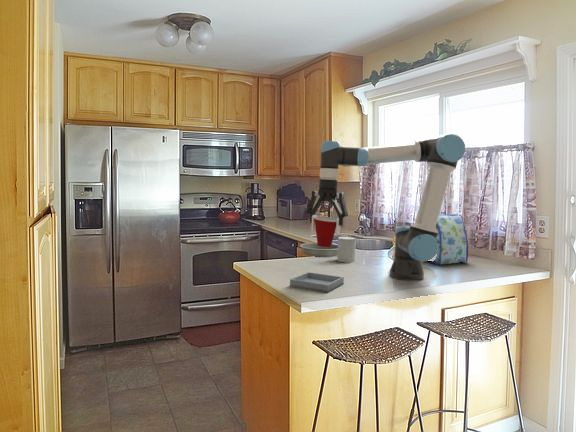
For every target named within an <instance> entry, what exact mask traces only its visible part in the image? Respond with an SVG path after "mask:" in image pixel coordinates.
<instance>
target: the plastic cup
mask: <svg viewBox="0 0 576 432" xmlns="http://www.w3.org/2000/svg"><path fill="white" fill-rule="evenodd" d="M314 220H315V226H316V230H315V234H316V235H315V237H316V243H317V244H318V246H322V247H331V245H332V244H333V241H334V236H335V234H336V224H337V217H336V218H334V217H330V216H323V215H322V216H321V215H317V216H315V217H314Z"/></svg>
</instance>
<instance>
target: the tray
mask: <svg viewBox="0 0 576 432" xmlns="http://www.w3.org/2000/svg"><path fill="white" fill-rule="evenodd" d="M344 284H345V277H343V276H338V275H331V274H325V273H317V272H310V271H308V272H304V273H302V274H300V275H297V276H296V277H292V278H290V279H289V287H290V288H296V289H302V290H308V291H314V292H320V293H327V294H328V293H330V292H332V291H334V290H336V289H338V288H339V287H341V286H343V285H344Z"/></svg>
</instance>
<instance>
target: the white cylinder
mask: <svg viewBox="0 0 576 432" xmlns="http://www.w3.org/2000/svg"><path fill="white" fill-rule="evenodd" d="M356 243H357V238H356V237H353V236H339V237H338V238H337V245H338V255H336V256H337V261H338V262H340V263H355V262H356V245H357V244H356Z"/></svg>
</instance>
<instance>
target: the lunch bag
mask: <svg viewBox="0 0 576 432" xmlns="http://www.w3.org/2000/svg"><path fill="white" fill-rule="evenodd" d="M436 229H437V231H438V235H437V239H436V240H437V242H438V251H437V253H436V254H437V257H436V259H435V260H434V261H433V262H432V263H434V264H435V265H450V264H452V263H453V264H461V263H460V262H464V263H468V260H469V241H468V240H469V239H468V235H467V231H466V226H465V222H464V218H463V216H462V215H460V214H455V213H452V214H439V217H438V220H437V224H436Z"/></svg>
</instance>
